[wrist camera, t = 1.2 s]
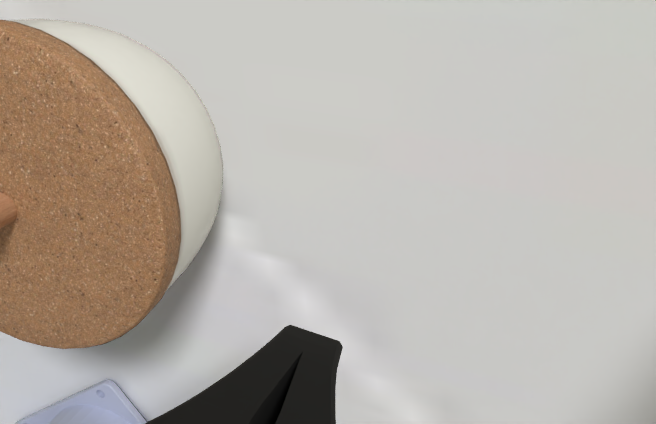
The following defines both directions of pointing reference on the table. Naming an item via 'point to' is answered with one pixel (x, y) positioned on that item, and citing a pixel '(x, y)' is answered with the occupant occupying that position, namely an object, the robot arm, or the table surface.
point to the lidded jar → (96, 181)
